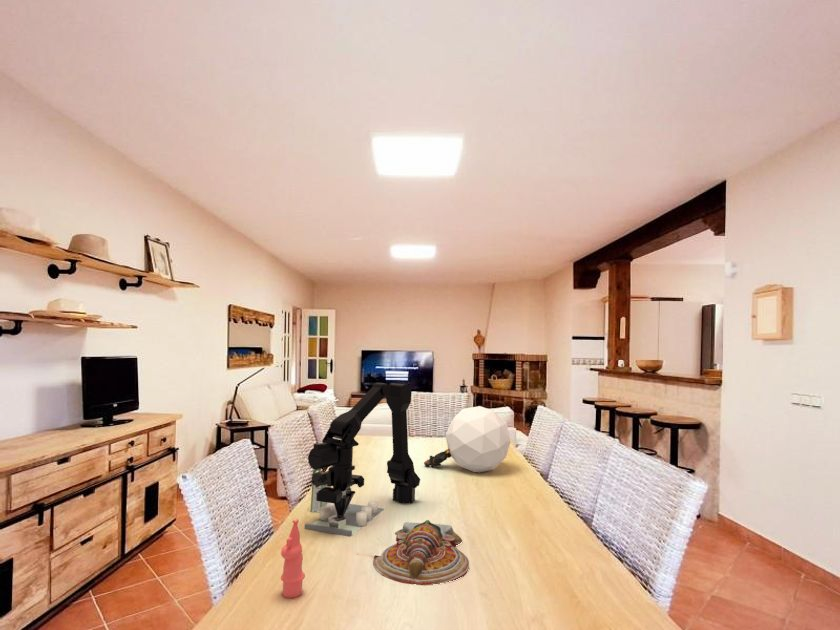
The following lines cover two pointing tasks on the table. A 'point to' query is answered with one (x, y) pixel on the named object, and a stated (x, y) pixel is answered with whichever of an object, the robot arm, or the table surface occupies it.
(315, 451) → the robot arm
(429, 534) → the decorative mask
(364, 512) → the spacers
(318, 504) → the ink box
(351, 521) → the slate board
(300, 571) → the figurine
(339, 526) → the star tealight holder
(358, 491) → the table surface
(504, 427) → the light fixture
